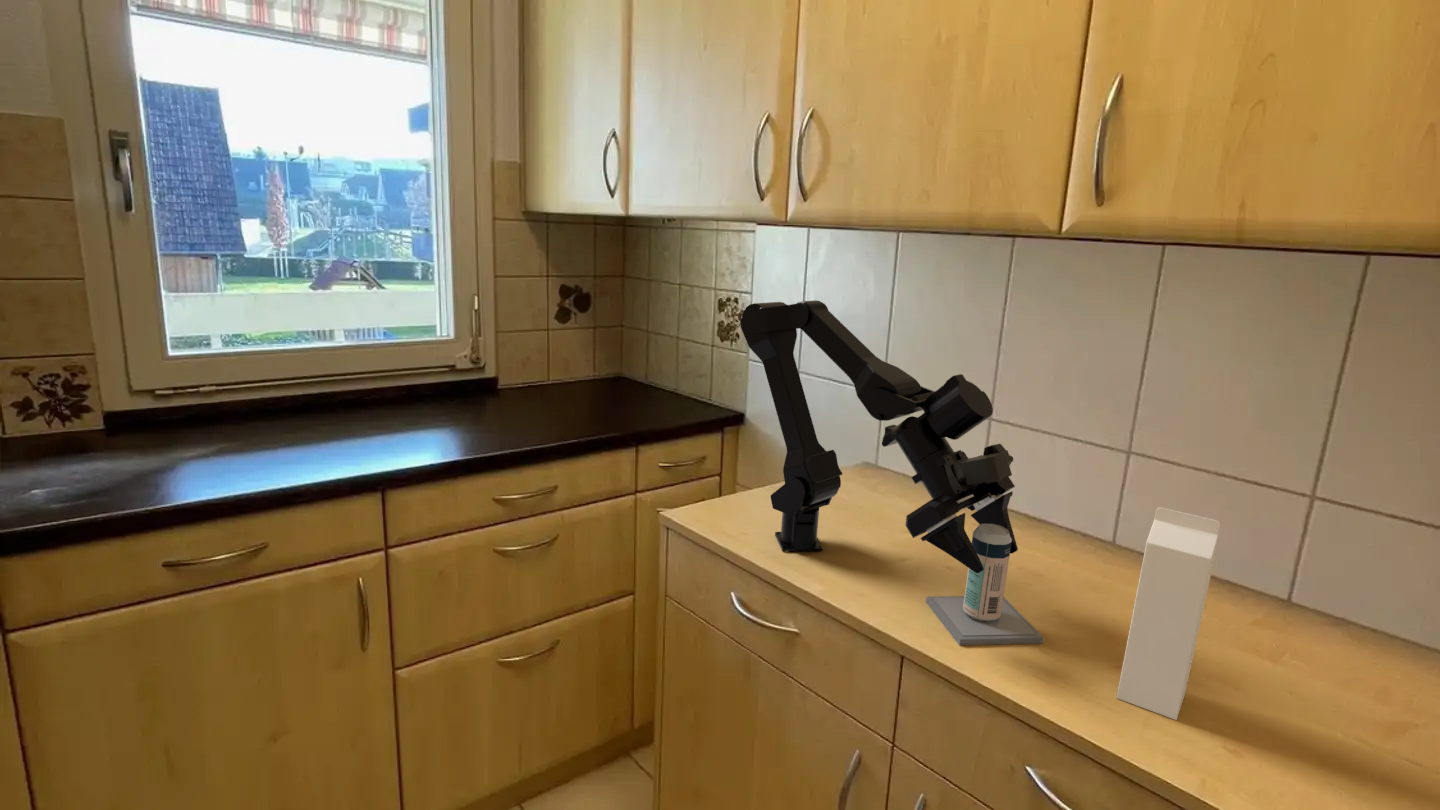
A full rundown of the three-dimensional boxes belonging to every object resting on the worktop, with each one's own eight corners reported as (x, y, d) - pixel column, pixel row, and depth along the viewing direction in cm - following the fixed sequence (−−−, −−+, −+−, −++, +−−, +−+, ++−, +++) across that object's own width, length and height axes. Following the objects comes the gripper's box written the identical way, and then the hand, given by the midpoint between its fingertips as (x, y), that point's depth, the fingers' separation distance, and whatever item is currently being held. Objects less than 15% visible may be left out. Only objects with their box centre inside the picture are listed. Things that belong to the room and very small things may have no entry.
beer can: (1003, 612, 103) (1016, 528, 100) (995, 627, 99) (1008, 540, 96) (967, 602, 105) (978, 519, 102) (957, 616, 101) (969, 530, 98)
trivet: (925, 601, 106) (926, 595, 106) (1001, 600, 108) (1002, 594, 108) (959, 645, 96) (960, 638, 96) (1042, 643, 97) (1043, 636, 97)
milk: (1126, 676, 91) (1160, 498, 86) (1185, 696, 88) (1224, 513, 82) (1115, 699, 86) (1150, 513, 81) (1177, 722, 83) (1218, 529, 78)
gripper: (938, 437, 92) (1013, 555, 87) (1010, 415, 105) (1079, 516, 100) (876, 482, 100) (942, 592, 95) (950, 456, 112) (1013, 552, 107)
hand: (998, 561), depth 99 cm, fingers open, 9 cm apart
